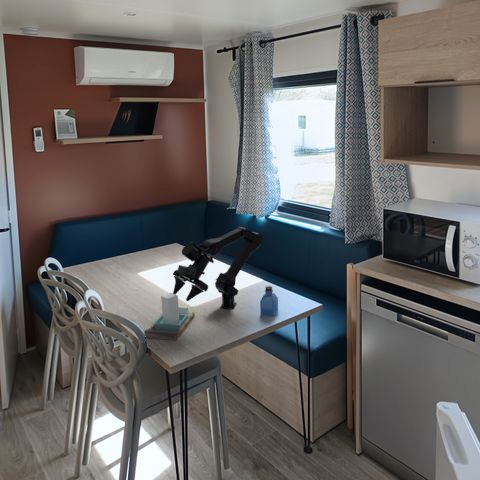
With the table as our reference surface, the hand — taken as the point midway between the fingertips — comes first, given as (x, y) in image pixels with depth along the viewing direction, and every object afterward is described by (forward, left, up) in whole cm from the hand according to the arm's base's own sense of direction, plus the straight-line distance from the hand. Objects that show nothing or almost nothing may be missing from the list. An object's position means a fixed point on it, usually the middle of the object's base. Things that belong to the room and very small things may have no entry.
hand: (180, 297), depth 219 cm
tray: (+2, -3, -11) cm, 11 cm away
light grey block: (+5, -3, -10) cm, 11 cm away
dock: (+6, -3, -11) cm, 13 cm away
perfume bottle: (-15, +36, -11) cm, 41 cm away
